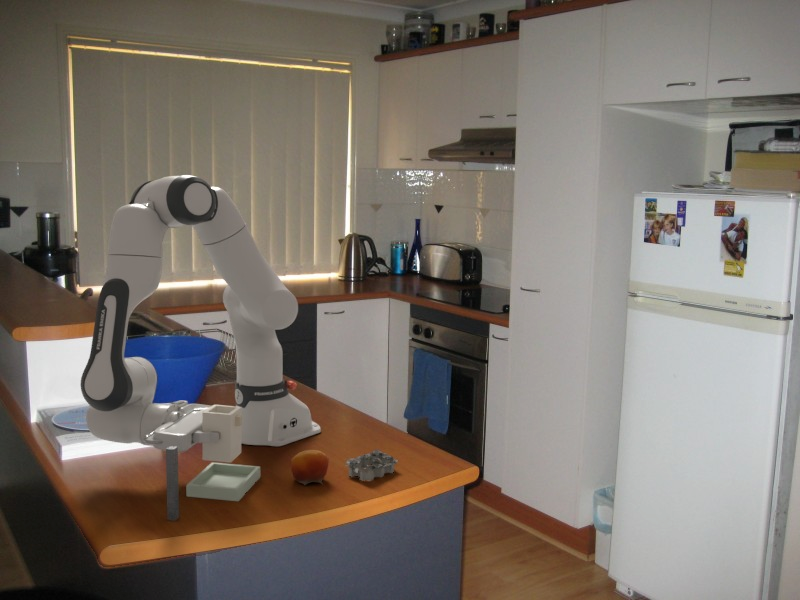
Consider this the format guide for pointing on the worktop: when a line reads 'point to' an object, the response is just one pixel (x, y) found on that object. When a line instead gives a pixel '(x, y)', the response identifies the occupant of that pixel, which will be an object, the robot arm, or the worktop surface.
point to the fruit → (309, 466)
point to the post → (172, 483)
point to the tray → (223, 481)
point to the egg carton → (366, 470)
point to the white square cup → (222, 433)
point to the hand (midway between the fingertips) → (226, 431)
